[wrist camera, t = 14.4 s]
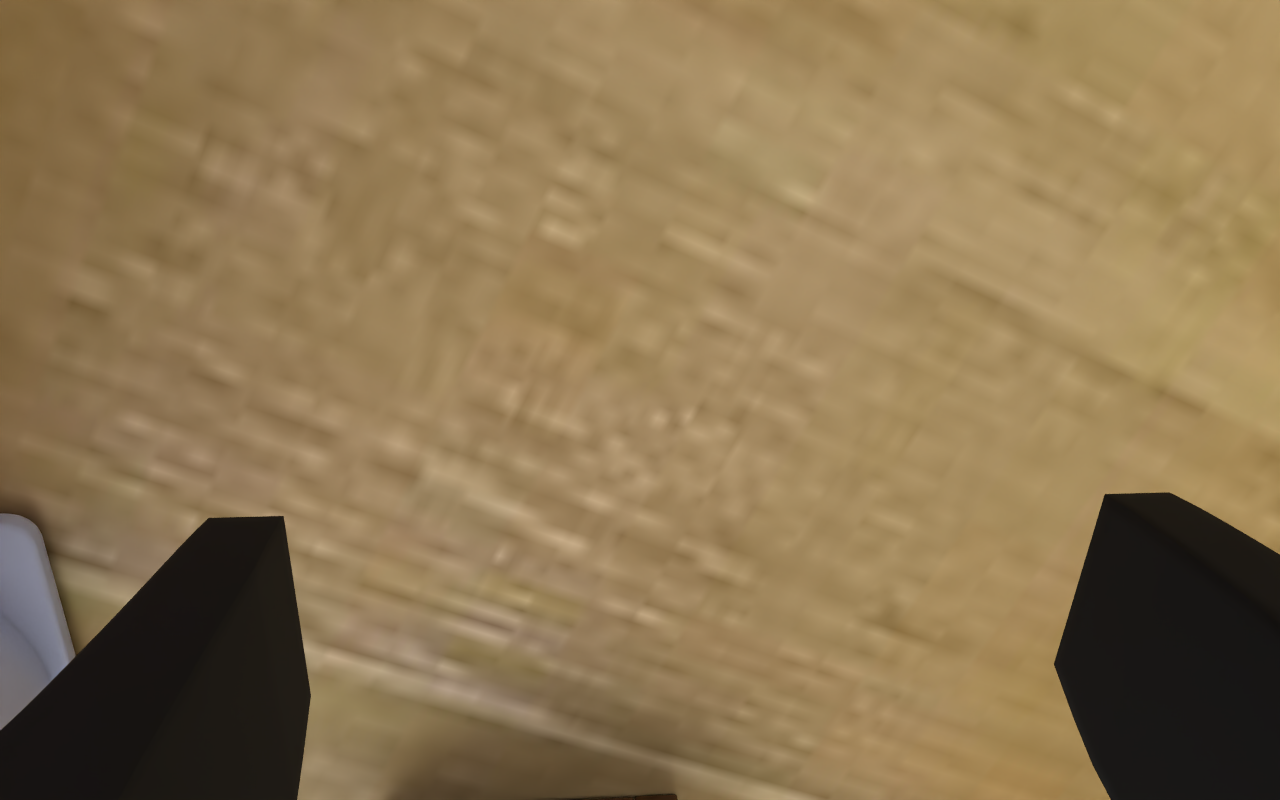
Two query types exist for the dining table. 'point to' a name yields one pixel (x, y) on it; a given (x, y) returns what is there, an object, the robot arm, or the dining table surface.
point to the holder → (641, 798)
